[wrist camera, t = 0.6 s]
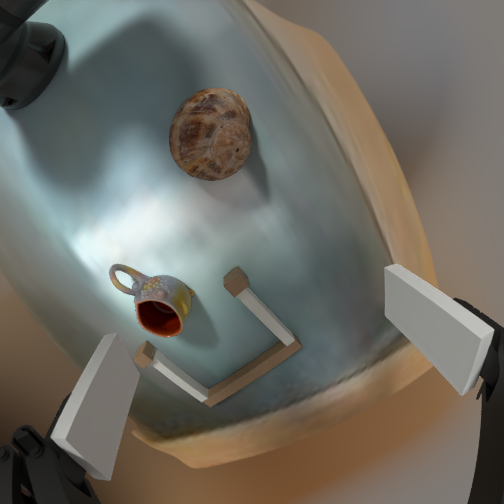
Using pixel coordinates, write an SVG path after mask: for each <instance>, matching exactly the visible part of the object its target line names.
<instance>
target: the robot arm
mask: <svg viewBox="0 0 504 504" xmlns="http://www.w3.org/2000/svg"><path fill="white" fill-rule="evenodd" d="M47 1H49V0H0V107H2V108H7V109H12V110H15V109H20V108H22V107H25V106H26V105H28V104H29V103H31V102H32V101H33V100H35V99H36V98H37V97H38V96H39V95H40V94H41V93H42V91H43V90H44V89H45V88H46V87H47V85H48V84H49V82H50V81H51V79H52V78H53V76H54V74H55V72H56V71H57V69H58V66H59V64H60V62H61V59H62V55H63V51H64V38H63V35H62V33H61V32H60V31H59V30H58V29H57V28H56V27H54V26H53V25H51V24H48V23H40V22H30V21H26V20H27V19H28V18H29V17H31V16H32V15H33V14H34V13H35V12H36V11H37V10H38V9H39V8H40V7H42V6H43V5H44V4H45V3H46V2H47ZM384 268H385V316H386V317H387V318H388V319H389V320H390V321H391V322H392V323H393V324H394V325H395V326H396V327H397V328H398V329H399V330H400V331H401V332H402V333H403V334H404V335H405V336H406V337H407V338H408V339H409V340H410V341H411V342H412V343H413V344H414V345H415V346H416V347H417V348H418V350H419V351H420V352H421V353H422V354H423V355H424V356H425V357H426V358H427V359H428V360H429V361H430V362H431V363H432V364H433V365H434V366H435V367H436V368H437V370H438V371H439V372H440V373H441V374H442V375H443V376H444V377H445V378H446V379H447V380H448V382H449V383H450V384H451V385H452V386H453V387H454V388H455V389H456V390H457V391H458V393H459V394H460V395H461V396H462V395H464V394H465V393H467V392H468V391H469V390H471V389H472V388H474V387H475V385H476V383H477V380H478V378H479V375H480V376H481V377H482V378H483V379H484V381H483V383H482V386H481V388H480V390H479V392H478V394H477V398H476V399H479V397H480V395H481V393H482V410H481V428H480V439H479V448H478V455H477V462H476V468H475V473H474V478H473V483H472V488H471V492H470V496H469V500H468V504H504V328H503V327H502V326H500V325H499V324H497V323H496V322H495V321H493V320H492V319H490V318H489V317H488V316H486V315H485V314H483V313H482V312H481V313H480V311H479V310H477V309H476V308H474V307H473V306H472V305H470V304H469V303H467V302H466V301H463V300H460V299H457V298H454V299H451V298H450V297H448V296H447V295H445V294H444V293H442V292H441V291H439V290H438V289H436V288H435V287H433V286H432V285H430V284H429V283H427V282H426V281H424V280H423V279H421V278H419V277H418V276H416V275H415V274H413V273H412V272H410V271H408V270H407V269H405V268H404V267H402V266H400V265H399V264H394V265H391V266H388V267H384ZM139 377H140V375H139V373H138V371H137V369H136V368H135V366H134V364H133V362H132V360H131V359H130V357H129V355H128V353H127V351H126V349H125V347H124V345H123V343H122V341H121V340H120V338H119V336H118V334H117V333H114V334H108V335H104V337H103V339H102V340H101V342H100V344H99V345H98V347H97V349H96V351H95V352H94V354H93V356H92V357H91V359H90V361H89V363H88V364H87V366H86V368H85V370H84V372H83V373H82V375H81V377H80V379H79V381H78V382H77V384H76V386H75V388H74V390H73V392H71V393H70V394H69V395H68V396H67V397H66V398H65V399H64V400H63V402H62V404H61V406H60V408H59V409H60V410H58V412H57V414H56V417H55V418H54V420H53V422H52V424H51V426H50V428H49V430H48V432H47V434H46V436H45V439H43V438H42V437H41V436H40V435H39V434H38V432H37V431H36V430H35V429H34V428H33V427H32V426H30V425H23V426H21V427H19V428H18V429H17V430H16V431H15V432H14V433H13V435H12V438H11V444H12V445H13V446H14V447H15V448H16V449H17V450H18V451H19V452H17V451H16V450H15V449H14V448H13V447H12V446H10V445H3V446H1V447H0V504H101V503H100V501H99V499H98V498H97V496H96V494H95V492H94V490H93V488H92V486H91V484H90V482H89V481H88V480H87V479H86V478H85V477H84V476H85V473H86V472H88V473H89V474H90V475H91V476H92V477H94V478H95V479H101V480H108V481H110V480H111V476H112V472H113V468H114V463H115V459H116V455H117V451H118V448H119V443H120V440H121V436H122V433H123V429H124V426H125V422H126V419H127V415H128V412H129V409H130V405H131V402H132V399H133V395H134V392H135V389H136V386H137V383H138V380H139ZM21 487H23V488H24V489H25V490H27V491H28V496H26V495H24V494H23V493H22V492H21Z"/></svg>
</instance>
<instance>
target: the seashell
mask: <svg viewBox="0 0 504 504" xmlns="http://www.w3.org/2000/svg"><path fill="white" fill-rule="evenodd" d="M249 118H250V117H249V113H248V109H247V106H246V103H245V102H244V100H243V99H242V98H241V96H239V95H237V94H235V93H234V92H233V91H231V90H227V89H221V88H211V89H204V90H201V91H198V92H197V93H195V94H194V95H192V96H191V97H190V98H188V99H187V100H186V101H185V102H183V104H182V105H181V106H180V108H179V109H178V111H177V113H176V115H175V117H174V119H173V123H172V125H171V128H170V135H169V144H170V151H171V154H172V157H173V159H174V161H175V162H176V163H177V165H178V166H179V167H180V168H181V169H183V170H184V171H185V172H186V173H187V174H189V175H191V176H192V177H197V178H199V179H202V180H208V181H215V180H221V179H224V178H227V177H229V176H231V175H233V174H234V173H236V172H237V171H238V170H239V169H240V168H241V167H242V166H243V165H244V163H245V162H246V160H247V158H248V156H249V154H250V152H251V146H252V138H251V134H250V132H249V130H248V129H249Z"/></svg>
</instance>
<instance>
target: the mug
mask: <svg viewBox="0 0 504 504" xmlns="http://www.w3.org/2000/svg"><path fill="white" fill-rule="evenodd" d="M116 271H122V272H125V273H127V274H129V275H130V276H132V277H133V278H134V279H136V280H137V281H138V283H134V284H133V285H132V289H130V288H127V287H126V286H124V285H123V284H121V283H120V282H119V281H118V279H117V277H116V275H115V272H116ZM109 276H110V279H111V281H112V283H113V284H114V286H115V287H116V288H117V289H119V290H120V291H122V292H123V293H126V294H129V295H133V296H135V297H134V303H135V308H136V309H135V311H136V316H137V319H138V323H139V324H140V326H141V327H142V328H143V329H144V330H146V331H148V332H150V333H152V334H154V335H156V336H160V337H173V336H176V335H178V334H180V333H181V332H182V331H183V324H184V322H185V321H186V319H187V318H188V316H189V314H190V310H191V297H193V296H194V291H193V290H191V289H188V288H187V287H186V286H185V284H184V283H183V282H181V281H180V280H179V279H177V278H175V277H172V276H168V275H159V276H154V277H149V276H146V275H144V274H142V273H140V272H138V271H136V270H135V269H133V268H131V267H128V266H126V265H122V264H114V265H112V266H111V268H110V270H109Z"/></svg>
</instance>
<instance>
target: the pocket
mask: <svg viewBox="0 0 504 504" xmlns="http://www.w3.org/2000/svg"><path fill="white" fill-rule="evenodd" d="M248 286H249V282H248V278H247V276H246V275H245V273H244V272H243V271H242V270H241V269H240V268H239V267H238V266H237V267H235V268H234V269H233V270H232V271H231V272H229V273H228V274H227V275H226V276H225V277H224V287H225V288H226V289H227V290H228V291H229V292H230V293H231V294H232V295H233V296H234V297H236V296H237V297H238V298H239V299H240V300H241V301H242V302H243V303H244V305H245V306H246V307H247V308H248V309H249V310H250V311H251V312H252V313H253V314H254V315H255V316H256V317H257V318H258V319H259V320H261V321H262V322H263V323H264V324H265V325H266V326H267V327H268V328H269V329H270V330H271V331H272V332H273V333H274V334H275V335H276V336H277V337H278V338H279V339H280V340H281V341H280V342H278V343H277V344H276V345H274V346H273V347H271V348H270V349H269V350H267V351H266V352H264V353H263V354H262V355H260V356H259V357H257V358H256V359H254V360H253V361H251V362H250V363H249V364H247V365H246V366H244V367H243V368H241V369H240V370H238V371H237V372H235V373H234V374H232V375H231V376H229V377H228V378H226V379H224V380H223V381H221V382H220V383H218V384H217V385H215V386H214V387H212V388H210V389H209V390H208V389H207V388H205V387H204V386H203V385H201V384H200V383H199V382H197V381H196V380H195V379H193V378H192V377H191V376H189V375H188V374H187V373H186V372H184V371H183V370H182V369H180V368H179V367H178V366H177V365H175V364H174V363H173V362H172V361H171V360H169V359H168V358H167V357H166V356H165V355H163V354H162V353H161V352H160V351H159V350H157V349H156V348H155V347H154V346H153V345H152V344H150V343H149V342H148V341H146V342H145V343H144V344H143V345H141V346H140V347H139V348H138V350H137V352H136V355H135V357H134V359H133V360H134V361H135V362H136V363H137V364H138V365H140V366H141V367H142V368H145V367H146V366H147V365H149V364H151V365H152V366H154V367H155V368H156V369H157V370H159V371H160V372H161V373H162V374H164V375H165V376H166V377H168V378H169V379H170V380H172V381H173V382H174V383H176V384H177V385H178V386H180V387H181V388H182V389H184V390H185V391H186V392H188V393H189V394H191V395H192V396H193V397H195V398H196V399H198V400H199V401H201V402H203V403H205V404H206V405H208V406H209V407H212V406H213V405H215V404H217V403H218V402H220V401H222V400H224V399H225V398H227V397H229V396H230V395H232V394H233V393H235V392H237V391H238V390H240V389H242V388H243V387H245V386H246V385H248V384H249V383H251V382H253V381H254V380H256V379H257V378H259V377H260V376H262V375H263V374H265V373H266V372H268V371H269V370H271V369H272V368H274V367H275V366H277V365H278V364H280V363H281V362H282V361H284V360H285V359H287V358H288V357H290V356H291V355H292V354H294V353H295V352H297V351H298V350H299V349H301V348H302V345H301V343H300V340H299V339H298V338H297V337H296V336H295V335H294V334H293V333H292V332H291V331H290V330H289V329H288V328H287V327H286V326H285V325H284V324H283V323H282V322H281V321H280V320H279V319H278V318H277V317H276V316H275V314H274V313H273V312H272V311H271V310H270V309H269V308H268V307H267V306H266V305H265V304H264V303H263V302H262V301H261V300H260V299H259V298H258V297H257V296H256V295H255V294H254V293H253V292H252V290H251V289H250V288H249V287H248Z"/></svg>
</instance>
